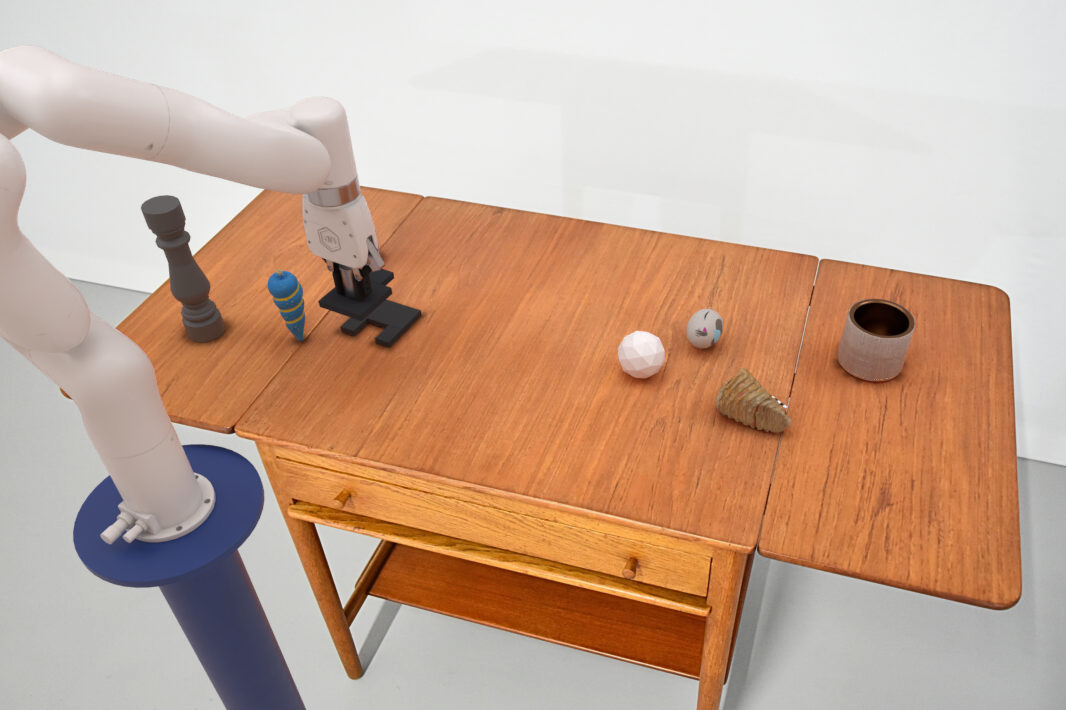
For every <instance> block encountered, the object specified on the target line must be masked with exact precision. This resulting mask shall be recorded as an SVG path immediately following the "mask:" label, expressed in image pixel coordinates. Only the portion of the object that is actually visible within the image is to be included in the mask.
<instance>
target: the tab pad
mask: <svg viewBox="0 0 1066 710" xmlns="http://www.w3.org/2000/svg"><path fill="white" fill-rule="evenodd" d="M339 269H340V273H341V278H342V282H343V287H344V293H343V294H341V295H339V294H337V293H336V288H335V286H334V287H333V288H332V289H331V290H330V291H328V292H327V293H326V294H325V295H324V296H322V297H321V298H320V299H319V300H318V305H319V308H322V309H324V310H327V311H330V312H333V313H336V314H339V315H341V316H345V317H348V318H353V319H356V320H359V321H363V320H364V319H365V318H366V317H367V316H368V315H369V314H370V313H372V312H373V311H374V310H375V309H376V308H377V307H378V306H379V305H380V304H382V303H383V302H384V301H385V300H386V299H387V300H388V299H389V298H390V297H391V296H392V295H393V288H392V287H390V286H389V283H391V282H392V281H394V279H395V274H394V272H393V271H391V270H387V269H384V268H382V269H381V270H379V271H375V272H370V273H369V277H370V282H371V287H372V292H371V293H370V294H369V295H368V296H367V297H365V298H364V299H363V300H362V301H361V302H360V301H357V299H356V296H355V291H354V287H353V282H352V281H353V279H354V278H355V277H354V273H353V270H352V267H348V266H345V265H342V264H339Z"/></svg>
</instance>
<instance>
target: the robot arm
mask: <svg viewBox="0 0 1066 710" xmlns="http://www.w3.org/2000/svg"><path fill="white" fill-rule="evenodd" d="M29 129H30V130H32V131H34V132H35V133H37V134H39V135H40V136H42V137H44V138H46V139H47V140H50V141H52V142H54V143H57V144H61V145H63V146H67V147H72V148H77V149H82V150H86V151H92V152H99V153H103V154H109V155H114V156H119V157H125V158H132V159H137V160H142V161H147V162H154V163H159V164H163V165H169V166H173V167H176V168H179V169H182V170H185V171H188V172H192V173H195V174H201V175H204V176H209V177H212V178H213V177H214V178H217V179H221V180H225V181H229V182H232V183H236V184H240V185H243V186H244V185H245V186H248V187H252V188H256V189H261V190H266V191H271V192H277V193H283V194H290V195H302V201H301V203H302V204H301V206H302V209H301V210H302V220H303V227H304V228H303V229H304V233H305V239H306V243H307V247H308V249H309V252H310V253H311V254H313V255H314V256H316V257H318V258H321V259H322V261H323V262H325V264H326V268H327V270H328V271H329V272H330V273H331V275H332V279H333V284H334V287H335V288H336V293H337V294H339V295H341V294H343V293H344V287H343V282H342V278H341V273H340V269H339V264H342V265H345V266H348V267H352V270H353V273H354V277H355V278H354V279H353V281H352V282H353V287H354V291H355V296H356V299H357V301H360V302H361V301H362V300H363V299H364V298H365V297H367V296H368V295H369V294H370V293H371V292H372V287H371V282H370V277H369V273H370V272H375V271H379V270H381V269H384V267H385V266H386V262H385V261H384V260H383V258H382V257H381V254H380V255H379V253H378V252H379V251H380V248H379V249H378V246H379V241H377V240H378V235H377V230H376V226H375V224H374V220H373V216H372V214H371V211H370V208H369V205H368V203H367V200H366V198H365V196H364V195H363V194H362V190H361V185H360V179H359V175H358V174H359V173H358V170H357V164H356V159H355V154H354V148H353V143H352V138H351V131H350V127H349V121H348V116H347V112H346V109H345V107H344V106H343V105H342V103H341V102H340V101H338V100H336V99H334V98H332V97H328V96H312V97H311V96H310V97H305V98H303V99H300V100H298V101H296V102H295V103H293V104H292V106H289V107H284V108H279V109H273V110H268V111H263V112H257V113H253V114H250V115H247V116H245V117H241V116H238V115H236V114H234V113H231V112H229V111H227V110H224V109H223V108H220V107H218V106H216V105H213V104H212V103H210V102H207V101H206V100H203V99H201V98H199V97H196V96H194V95H191V94H188V93H186V92H183V91H180V90H178V89H175V88H169V87H165V86H161V85H158V84H154V83H149V82H145V81H142V80H137V79H133V78H129V77H126V76H122V75H119V74H115V73H112V72H108V71H104V70H101V69H97V68H92V67H90V66H85V65H82V64H80V63H77V62H74V61H71V60H69V59H68V58H66V57H63V56H61V55H59V54H58V53H56V52H53V51H51V50H50V49H47V48H46V47H41V46H39V45H32V44H25V45H23V44H22V45H16V46H13V47H9V48H6V49H3V50H1V51H0V338H1V339H3V341H4V342H6V343H7V344H8V345H9V346H10V347H12V348H13V349H14V350H15V351H16V352H18V353H19V354H20V355H21V356H22V357H24V358H25V359H26V360H27V361H28V362H29V363H31V364H32V365H33V366H34V367H35V368H37V370H39V371H40V372H41V373H42V374H43V375H45V376H46V377H47V378H49V379H50V380H51V381H52V382H53V383H54V384H55V385H56V386H57V387H59V388H60V389H61V390H62V391H63V392H64V393H66V395H68V396H69V397H70V399H71V400H72V401H73V402H74V404H75V405H76V407H77V408H78V410H79V412H80V415H81V419H82V423H83V426H84V428H85V431H86V433H87V435H88V438H89V440H90V442H91V444H92V445H93V447H94V449H95V450H96V452H97V454H98V455H99V458H100V459H101V461H102V464H103V465H104V466H105V469H106V470H107V473H108V474H109V475H110V476H111V478H112V480H113V482H114V484H115V485H116V487H117V489H118V491H119V493H120V495H121V497H122V499H123V500H124V501H123V502H121V503H120V504H119V505H118V507H119V509H120V511H121V514H120V515H118V516H117V521H116V522H115V523H114V524H113V525H111V526H109V527H108V528H107V529H106V530H105V531H104V532H103V533H102V534H100V537H101V538H102V539H103V540H104V541H105V542H106V543H108V544H112V543H113V542H114V541H115V540H116V539H117V538H119V537H120V536H121V535H122V533H123V532H124V531H125V530H126V531H127V533H126V534H125V535H123V536H122V537H123V539H124V540H125V541H126V542H128V543H131V542H132V541H133V540H134V539H138V540H140V541H144V542H165V541H170V540H174V539H177V538H179V537H182V536H184V535H186V534H188V533H190V532H192V531H193V530H195V529H196V528H197V527H199V526H200V525H201V524H202V523H203V522H204V521H205V520H206V519H207V518H208V517H209V515H210V514H211V512H212V510H213V508H214V505H215V501H216V496H215V491H214V488H213V486H212V484H211V483H210V481H209V480H208V479H207V478H205V477H204V476H202V475H200V474H197V473H194V472H193V470H192V468H191V465H190V463H189V461H188V459H187V456H186V454H185V452H184V450H183V447H182V445H183V444H182V443H181V440H180V438H179V436H178V434H177V431H176V429H175V427H174V424H173V422H172V420H171V418H170V416H169V413H168V411H167V409H166V406H165V403H164V401H163V399H162V396H161V393H160V389H159V386H158V381H157V375H156V370H155V367H154V366H153V363H152V361H151V359H150V357H149V356H148V354H146V352H145V351H144V350H143V349H142V348H141V347H140V346H139V345H138V344H137V343H136V342H135V341H133V340H132V339H131V338H130V337H129V336H127V335H126V334H124V333H123V332H121V331H120V330H119V329H117V328H116V327H114V326H113V325H111V324H110V323H108V322H107V321H105V320H104V319H103V318H102V317H100V316H99V315H97V314H96V313H95V312H93V311H92V310H91V309H90V307H89V304H88V303H87V301H86V299H85V297H84V294H83V293H82V291H80V289H79V288H78V287H77V285H76V284H75V283H74V282H73V281H72V280H71V279H69V277H67V275H65V274H64V273H62V272H61V271H60V270H59V269H58V268H56V266H54V265H53V264H52V263H51V262H50V261H49V260H48V259H47V258H46V257H45V256H44V255H43V254H42V253H41V251H39V249H37V248H36V246H35V245H34V243H32V241H31V240H30V239H29V238H28V237H27V236H26V234H24V233H23V231H22V230H21V229H20V227H19V223H18V218H19V217H18V215H19V210H20V207H21V204H22V200H23V199H24V194H25V191H26V186H27V169H26V165H25V161H24V159H23V157H22V155H21V152H20V151H19V149H18V148H17V147H16V146H15V144H13V142H12V141H11V140H12V139H14V138H16V137H17V136H19V135H21V134H22V133H23V132H25V131H27V130H29ZM374 226H375V227H374ZM375 230H376V231H375ZM376 235H377V236H376Z"/></svg>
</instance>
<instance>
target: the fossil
mask: <svg viewBox="0 0 1066 710" xmlns="http://www.w3.org/2000/svg"><path fill="white" fill-rule="evenodd" d="M782 407H783V408H784V409H787V408H788V405H786V404H785V403H783V402H782V401H780V400H779V399H778V398H776V397H775V396H774V395H772V394H771V393H770V392H769V391H768V390H767V389H766V388H765V387H764V386H762V384H761V382H760V381H759V380H758V379H756V378H755V376H754V375H753V374H752V373H751V372H750V371H749V369H747V368H743V367H742V368H739V369H738V372H737V373H736V374H735V375H734V376H733V377H731V378H729V379H728V380H727V381H725V382H724V383H723V385H722V387H721V388H720V389H719V391H718V392H717V394H716V397H715V408H716V410H717V411H718V412H719V414H720V413H721V415H722V416H727V418H728V419H734V420H735V422H736V423H742V425H744V426H750V428H751V429H755V428H756V429H757V431H762V430H764V431H765V432H766V433H768V432H770V433H780V432H783V431H784V430H786V429H788V427H790V426H791V425H792V424H791V423H792V418H791V416H789V415H787V414H785V411H783V408H782Z"/></svg>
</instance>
